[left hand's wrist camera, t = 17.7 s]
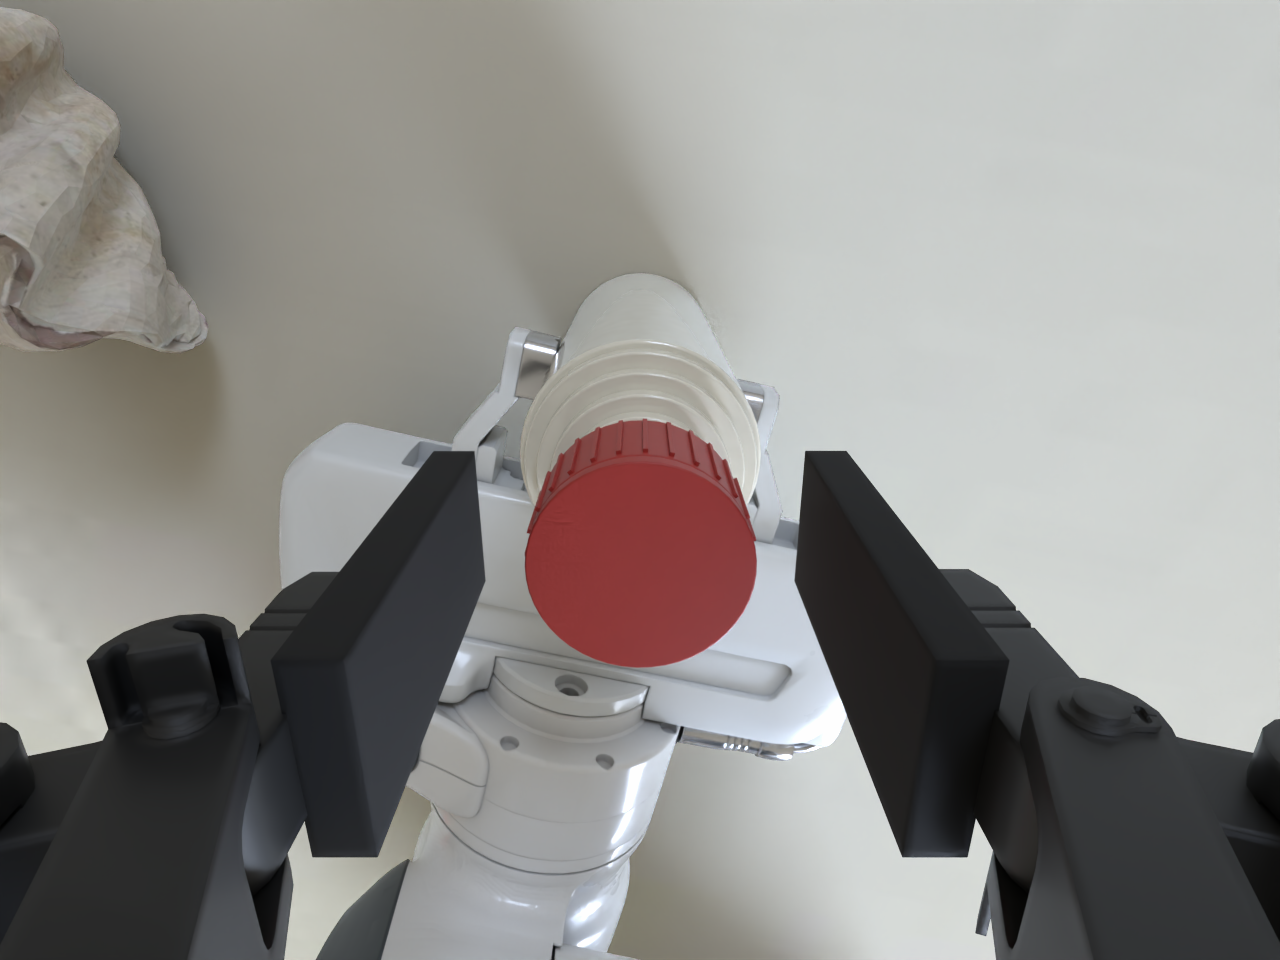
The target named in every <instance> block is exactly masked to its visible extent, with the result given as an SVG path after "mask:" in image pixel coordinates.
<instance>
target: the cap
mask: <svg viewBox="0 0 1280 960" xmlns="http://www.w3.org/2000/svg"><path fill="white" fill-rule="evenodd" d="M527 533H528V534H530V535H529V538H528V542H527V546H526V549H525V575H526V582H527V586H528V590H529V594H530V596H531V599H532V601H533V604H534V606H535V607H536V609H537V611H538V613H539V614H540V616H541V618H542V619H543V620H544V622H545V623H546V624H547V626H548V627H549V628H550V629H551V630H552V631H553V632H554V633H555V634H556V635H557V636H558V637H559V638H560V639H561V640H563V641H564V642H565V643H566V644H568V645H569V646H570V647H572V648H574V649H575V650H577V651H579V652H580V653H582V654H584V655H586V656H589V657H591V658H593V659H595V660H599V661H602V662H605V663H608V664H613V665H618V666H623V667H635V668H644V667H657V666H665V665H669V664H673V663H677V662H680V661H683V660H686V659H688V658H691V657H693V656H695V655H697V654H699V653H701V652H703V651H705V650H706V649H708V648H709V647H711V646H712V645H714V644H715V643H717V642H718V641H719V640H720V639H721V638H722V637H724V636H725V635H726V634H727V633H728V632H729V631H730V630H731V628H732V627H733V626H734V625H735V624H736V623H737V621H738V620H739V618H740V617H741V615H742V614H743V612H744V610H745V608H746V606H747V604H748V602H749V600H750V598H751V595H752V592H753V589H754V585H755V579H756V573H757V557H756V548H755V544H754V541H756V536H755V533H754V530H753V527H752V524H751V521H750V515H749V512H748V509H747V506H746V503H745V500H744V497H743V494H742V491H741V488H740V485H739V482H738V480H737V478H734V479H733V476H732V474H731V471H730V468H729V465H728V461H727V460H726V459H724V460H722V458H721V457H720V456H719V455H718V453H717V452H716V451H715V450H714V449H713V445H712V444H711V443H710V442H709V443H708V444H707V443H706V442H704V441H703V440H702V439H700V438H699V437H697V436H696V435H694V433H693V431H691V430H689V431H686V430H684V429H682V428H679V427H676V426H674V425H671V422H666V423H662V422H657V421H647V419H644V418H643V420H637V421H626V422H623V420H619V421H618V423H615V424H611V425H608V426H604V427H602V428H600V426H599V427H597V428H595V431H593V432H591V433H589V434H588V435H586V436H584V437H583V438H581V439H580V438H577V439H576V440H575V443H574V444H573V445H572V446H571V447H570V448H569V449H568V450H567V451H566V452H565V453H564V454H562V453H560V454H559V456H558V459H557V462H556V464H555V466H554V467H553V469H552V471H551V472H550V471H548V472H547V474H546V477H545V480H544V483H543V486H542V489H541V491H540V493H539V496H538V499H537V502H536V505H535V508H534V511H533V514H532V517H531V520H530V523H529V526H528V529H527Z"/></svg>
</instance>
